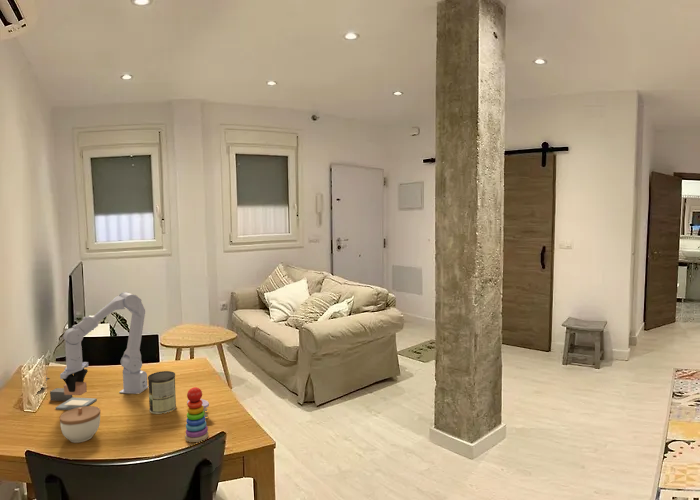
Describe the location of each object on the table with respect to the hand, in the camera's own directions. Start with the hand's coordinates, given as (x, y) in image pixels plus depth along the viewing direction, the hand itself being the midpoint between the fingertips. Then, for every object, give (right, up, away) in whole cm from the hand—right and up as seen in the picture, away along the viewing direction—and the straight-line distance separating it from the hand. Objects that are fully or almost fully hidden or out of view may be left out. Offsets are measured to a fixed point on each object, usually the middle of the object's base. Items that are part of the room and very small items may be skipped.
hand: (75, 389), depth 195 cm
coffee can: (+37, -7, -3) cm, 38 cm away
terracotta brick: (0, -2, 0) cm, 2 cm away
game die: (-28, -5, +18) cm, 34 cm away
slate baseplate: (0, -7, +1) cm, 6 cm away
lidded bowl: (+18, -9, -27) cm, 34 cm away
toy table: (+54, -8, -9) cm, 55 cm away
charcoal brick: (-10, -6, +7) cm, 13 cm away
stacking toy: (+59, -10, -27) cm, 66 cm away
